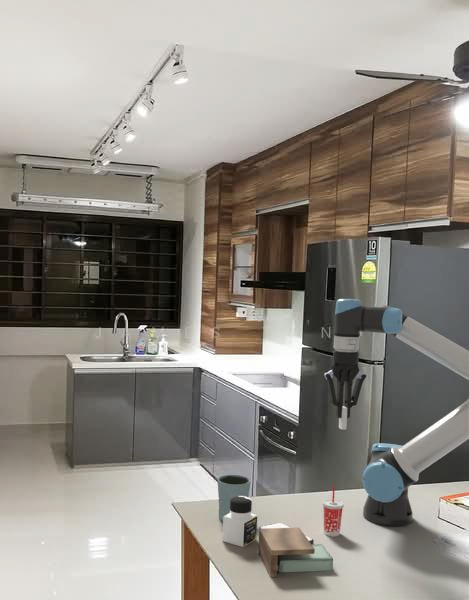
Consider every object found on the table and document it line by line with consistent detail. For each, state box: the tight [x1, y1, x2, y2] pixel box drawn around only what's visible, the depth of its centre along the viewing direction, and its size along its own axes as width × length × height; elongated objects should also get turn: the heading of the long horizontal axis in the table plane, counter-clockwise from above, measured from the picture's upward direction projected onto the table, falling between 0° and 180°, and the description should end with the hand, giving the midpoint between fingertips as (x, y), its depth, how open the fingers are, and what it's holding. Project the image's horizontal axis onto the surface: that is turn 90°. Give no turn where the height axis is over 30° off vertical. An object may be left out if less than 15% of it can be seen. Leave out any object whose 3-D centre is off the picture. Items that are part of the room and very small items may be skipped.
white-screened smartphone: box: [258, 522, 315, 545], centre depth 187 cm, size 9×2×16 cm
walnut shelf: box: [258, 527, 315, 578], centre depth 169 cm, size 11×14×7 cm
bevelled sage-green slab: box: [277, 543, 334, 573], centre depth 170 cm, size 14×9×3 cm, turn 100°
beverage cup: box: [322, 485, 345, 537], centre depth 191 cm, size 6×6×14 cm
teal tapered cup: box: [217, 474, 251, 522], centre depth 200 cm, size 10×10×12 cm
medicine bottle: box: [221, 496, 258, 548], centre depth 183 cm, size 7×7×12 cm
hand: (342, 428), depth 197 cm, fingers closed
